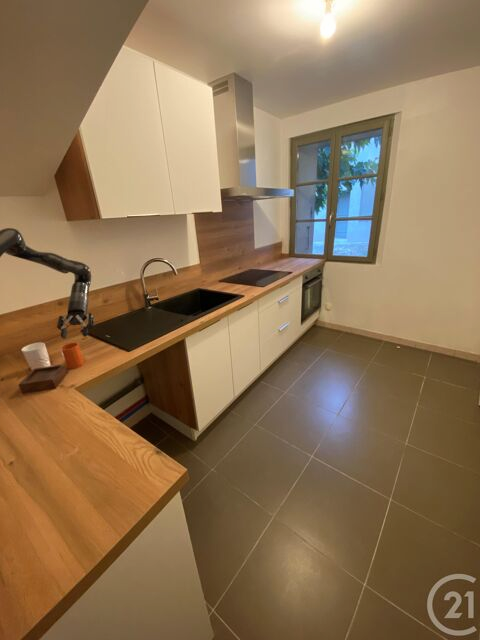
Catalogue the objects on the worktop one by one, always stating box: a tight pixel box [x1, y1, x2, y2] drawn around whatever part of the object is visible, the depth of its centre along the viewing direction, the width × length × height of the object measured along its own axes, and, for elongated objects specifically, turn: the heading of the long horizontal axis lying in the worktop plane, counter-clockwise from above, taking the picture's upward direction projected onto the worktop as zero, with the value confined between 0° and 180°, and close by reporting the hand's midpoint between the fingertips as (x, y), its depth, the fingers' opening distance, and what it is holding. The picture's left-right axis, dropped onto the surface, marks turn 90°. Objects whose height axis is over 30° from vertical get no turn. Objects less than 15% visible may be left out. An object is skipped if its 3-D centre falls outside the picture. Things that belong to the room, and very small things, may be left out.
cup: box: [59, 342, 85, 370], centre depth 110 cm, size 7×7×9 cm
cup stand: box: [18, 363, 68, 395], centre depth 99 cm, size 11×11×4 cm
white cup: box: [21, 341, 52, 371], centre depth 109 cm, size 8×8×10 cm
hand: (74, 337), depth 113 cm, fingers open, 8 cm apart
